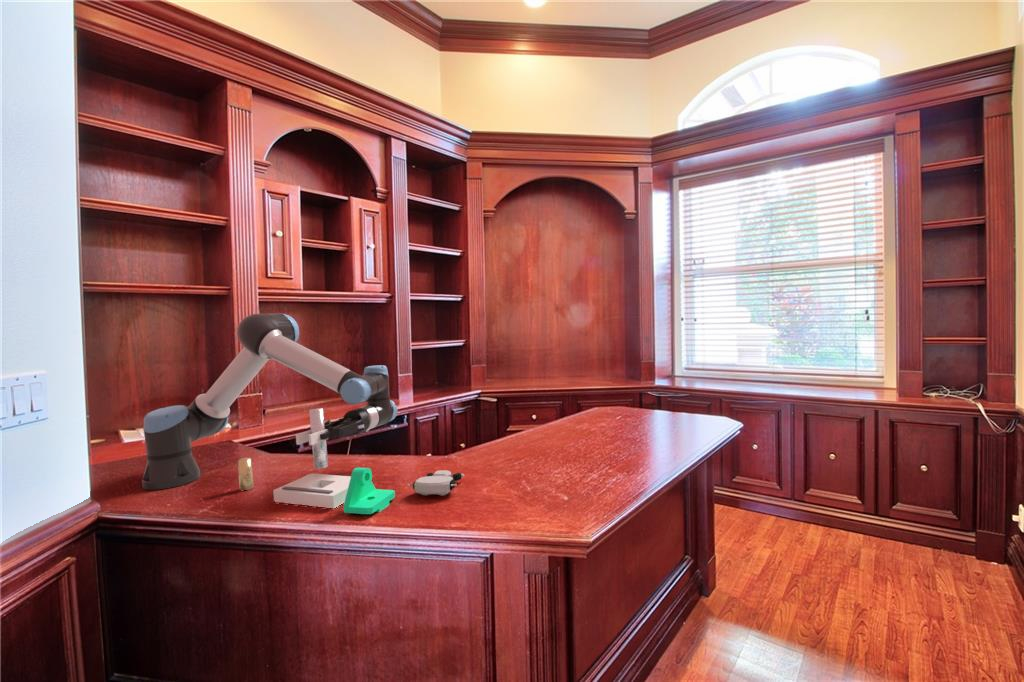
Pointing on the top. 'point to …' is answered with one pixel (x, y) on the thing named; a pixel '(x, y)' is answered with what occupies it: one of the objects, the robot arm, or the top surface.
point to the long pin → (319, 448)
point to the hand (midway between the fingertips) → (303, 439)
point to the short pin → (245, 473)
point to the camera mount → (365, 494)
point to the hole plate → (315, 490)
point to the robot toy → (436, 483)
